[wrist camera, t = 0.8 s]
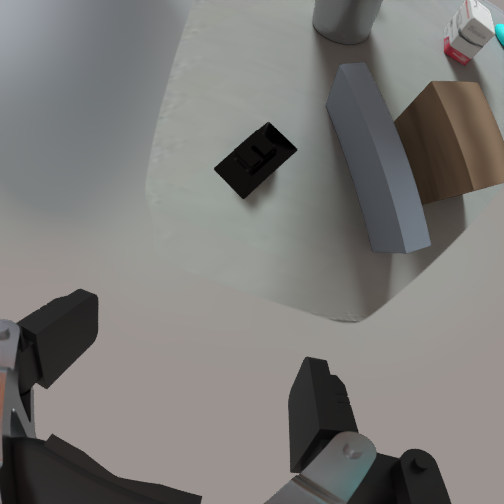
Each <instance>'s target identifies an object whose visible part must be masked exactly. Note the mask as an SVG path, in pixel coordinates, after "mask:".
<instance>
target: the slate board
mask: <svg viewBox="0 0 504 504" xmlns="http://www.w3.org/2000/svg"><path fill="white" fill-rule="evenodd" d="M326 107H327V110H328V112H329V114H330V117H331V120H332V122H333V125H334V127H335V130H336V133H337V135H338V138H339V141H340V144H341V146H342V149H343V152H344V155H345V158H346V161H347V164H348V167H349V170H350V173H351V176H352V179H353V182H354V185H355V189H356V192H357V195H358V199H359V202H360V206H361V209H362V213H363V216H364V220H365V224H366V228H367V231H368V235H369V239H370V243H371V247H372V252H388V253H404V254H407V253H410V252H413V251H416V250H419V249H422V248H425V247H428V246H431V242H430V237H429V233H428V228H427V224H426V220H425V216H424V212H423V208H422V204H421V201H420V197H419V194H418V190H417V187H416V184H415V180H414V177H413V174H412V171H411V168H410V165H409V162H408V159H407V156H406V153H405V151H404V148H403V145H402V143H401V140H400V137H399V135H398V132H397V130H396V127H395V125H394V122H393V120H392V118H391V115H390V113H389V111H388V108H387V106H386V104H385V102H384V99H383V97H382V95H381V93H380V91H379V89H378V87H377V85H376V83H375V81H374V79H373V77H372V75H371V73H370V71H369V69H368V67H367V65H366V63H365V62H359V63H348V64H340V65H339V68H338V71H337V74H336V77H335V80H334V83H333V86H332V89H331V92H330V95H329V98H328V100H327V103H326Z"/></svg>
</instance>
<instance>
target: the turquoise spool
mask: <svg viewBox="0 0 504 504" xmlns="http://www.w3.org/2000/svg"><path fill="white" fill-rule="evenodd" d="M495 33H496V35H497V37H498V39H499V41H500V42H501V44H502V45H503V46H504V24H497V25H496V27H495Z"/></svg>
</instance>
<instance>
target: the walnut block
mask: <svg viewBox="0 0 504 504" xmlns="http://www.w3.org/2000/svg"><path fill="white" fill-rule="evenodd" d="M394 124H395V126H396V129H397V131H398V134H399V136H400V139H401V141H402V144H403V147H404V149H405V152H406V155H407V158H408V161H409V164H410V167H411V170H412V173H413V176H414V179H415V182H416V185H417V189H418V192H419V196H420V199H421V203H422V205H424V204H427V203H431V202H435V201H439V200H443V199H446V198H450V197H454V196H458V195H461V194H465V193H469V192H472V191H476V190H480V189H483V188H487V187H490V186H494V185H498V184H501V183H504V141H503V138H502V136H501V133H500V130H499V128H498V125H497V123H496V120H495V118H494V116H493V113H492V111H491V109H490V107H489V104H488V102H487V100H486V98H485V96H484V94H483V92H482V90H481V88H480V86H479V84H478V82H457V81H431V82H430V83H429V84H428V85H427V86H426V88H425V89H424V90H423V91H422V92H421V93H420V94H419V95H418V96H417V97H416V98H415V99H414V101H413V102H412V103H411V104H410V105H409V106H408V107H407V108H406V109H405V110H404V111H403V112H402V114H401V115H400V116H399V117H398V118H397V119H396V120H395V121H394Z"/></svg>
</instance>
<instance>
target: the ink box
mask: <svg viewBox="0 0 504 504" xmlns="http://www.w3.org/2000/svg"><path fill="white" fill-rule="evenodd" d="M494 35H495V30H494V26H493V21H492V17H491V13H490V11H489V10H488V9H487V8H486V7H484V6H483V5H482V4H480V3H479V2H478V1H476V0H465V1H464V2H463V4H462V5H461V7H460V8H459V9H458V11H457V12H456V13H455V15H454V16H453V17H452V19H451V20H450V21H449V23H448V24H447V25H446V27H445V28H444V52H445V54H447V55H449V56H450V57H452V58H453V59H455V60H456V61H458V62H460V63H461V64H463V65H464V66H465V65H466V64H467V63H468V62H469V61H470V60H471V59H472V58H473V57H474V56H475V55H476V54H477V53H478V52H479V50H480V49H481V48H482V47H483V46H484V45H485V44H486V43H487V42H488V41H489V40H490V39H491V38H492V37H493V36H494Z"/></svg>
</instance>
